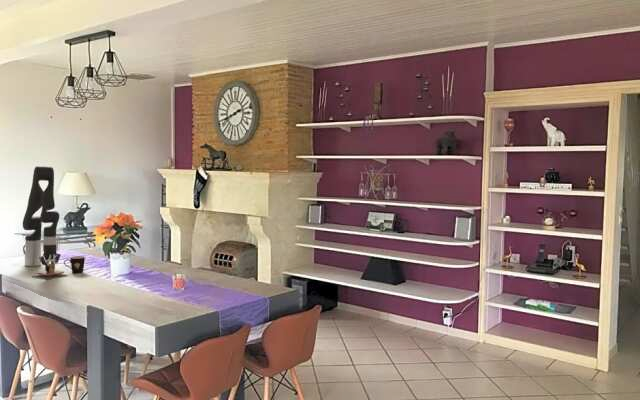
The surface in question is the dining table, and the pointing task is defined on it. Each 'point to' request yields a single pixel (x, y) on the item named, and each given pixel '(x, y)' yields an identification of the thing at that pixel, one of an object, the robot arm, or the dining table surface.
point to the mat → (49, 276)
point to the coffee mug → (76, 264)
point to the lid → (50, 271)
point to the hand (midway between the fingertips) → (50, 270)
